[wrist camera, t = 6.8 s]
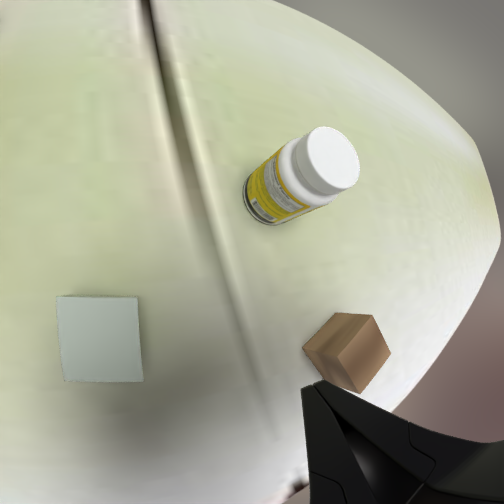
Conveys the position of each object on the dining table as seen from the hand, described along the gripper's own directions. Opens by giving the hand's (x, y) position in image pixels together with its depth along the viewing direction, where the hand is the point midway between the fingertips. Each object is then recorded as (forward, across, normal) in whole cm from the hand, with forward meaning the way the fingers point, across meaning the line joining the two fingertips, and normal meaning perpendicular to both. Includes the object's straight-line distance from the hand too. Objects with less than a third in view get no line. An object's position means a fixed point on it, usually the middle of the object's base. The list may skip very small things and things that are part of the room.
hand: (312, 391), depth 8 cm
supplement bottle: (+16, -4, -3) cm, 17 cm away
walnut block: (+12, -6, +10) cm, 17 cm away
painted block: (+10, +10, +1) cm, 14 cm away
